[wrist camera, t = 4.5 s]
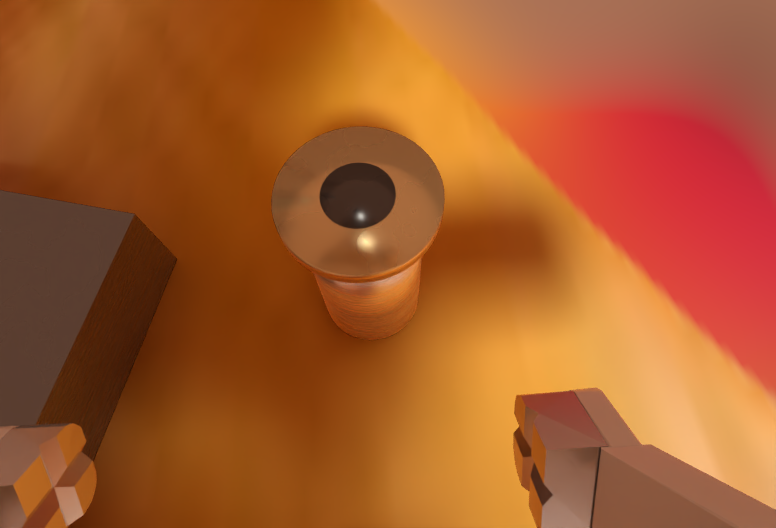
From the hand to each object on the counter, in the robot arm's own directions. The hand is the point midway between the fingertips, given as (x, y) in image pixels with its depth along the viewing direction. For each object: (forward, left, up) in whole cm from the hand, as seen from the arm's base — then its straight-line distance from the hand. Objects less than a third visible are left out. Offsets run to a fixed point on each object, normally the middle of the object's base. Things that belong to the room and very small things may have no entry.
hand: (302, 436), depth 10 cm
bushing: (+7, +1, -10) cm, 13 cm away
